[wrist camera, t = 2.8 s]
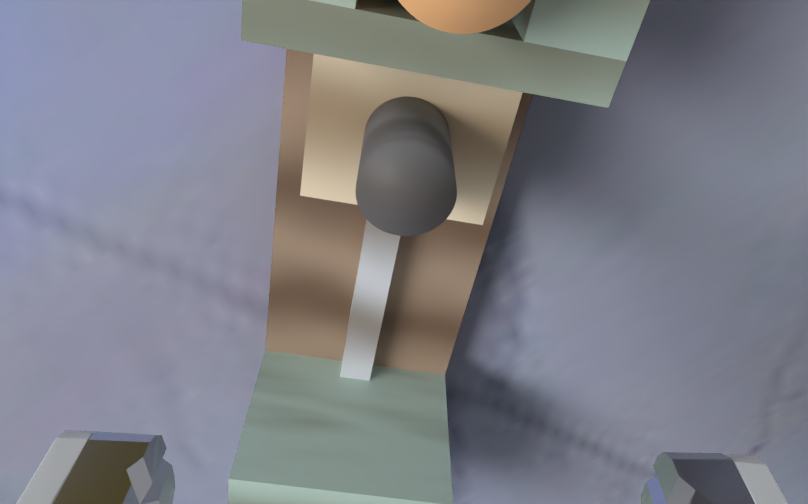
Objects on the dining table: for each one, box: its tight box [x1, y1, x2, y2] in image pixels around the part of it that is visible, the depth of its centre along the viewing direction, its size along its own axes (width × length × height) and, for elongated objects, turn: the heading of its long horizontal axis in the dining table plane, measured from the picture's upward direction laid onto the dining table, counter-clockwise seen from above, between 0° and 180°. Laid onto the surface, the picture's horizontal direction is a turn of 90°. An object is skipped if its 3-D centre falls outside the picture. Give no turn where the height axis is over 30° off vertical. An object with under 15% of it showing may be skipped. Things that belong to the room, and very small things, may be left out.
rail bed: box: [228, 0, 650, 504], centre depth 26 cm, size 33×10×10 cm, turn 170°
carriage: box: [300, 54, 523, 236], centre depth 21 cm, size 6×7×8 cm
